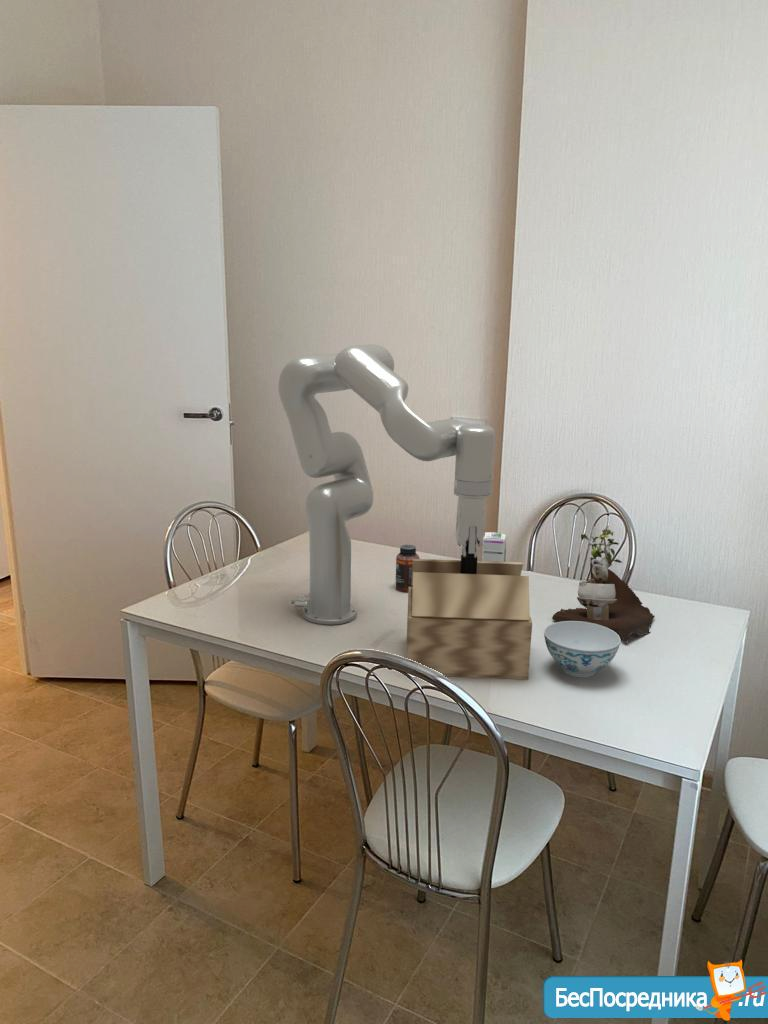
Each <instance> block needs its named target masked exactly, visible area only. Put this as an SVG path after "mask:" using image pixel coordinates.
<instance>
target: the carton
mask: <svg viewBox="0 0 768 1024" xmlns="http://www.w3.org/2000/svg"><path fill="white" fill-rule="evenodd" d="M412 592H413V587H409V590H408V592H407V594H408V597H407V623H406V624H407V625H406V659H407V658H408V659H411V660H413V661H416V662H418V663H421V664H422V665H425V666H427V667H429V668H432V669H434V670H436V671H438V672H440V673H442V674H443V675H445V676H444V677H457V678H459V677H461V678H462V677H463V678H483V679H484V678H485V679H486V678H487V679H515V680H529V673H530V671H529V670H530V659H531V657H530V655H531V646H532V644H531V643H532V633H533V631H532V630H533V621H532V618H531V617H530V620H502V619H473V618H445V617H416V616H412Z"/></svg>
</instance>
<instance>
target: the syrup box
mask: <svg viewBox="0 0 768 1024" xmlns="http://www.w3.org/2000/svg"><path fill="white" fill-rule="evenodd" d="M481 546H482V547H481V549H482V551H481V561H494V562H506V557H507V556H506V553H507V533H503V532H497V531H496V532H495V531H493V532H490V531H489V532H486V531H485V532H484V533H483V540H482V545H481Z"/></svg>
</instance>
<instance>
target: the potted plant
mask: <svg viewBox="0 0 768 1024" xmlns="http://www.w3.org/2000/svg"><path fill="white" fill-rule="evenodd" d="M601 531H602V534H600V535H599V536H595V537H594V536H591V539H592V540H591V539H590V538H589V537H588V535H586V533H583V534H582V533H580V538H581V541H584V539H586V540H587V541H588V542H589V544H587V545H588V546H591V552H590V555H591V556H592V557H590V558H589V559H590V560H589V561H590V562H589V566H590V567H589V568H590V569H589V571H590V579H589V578H588V580H587V581H579V584H578V588H577V596H576V599H577V601H578V602H579V604H580V605H581V606H583V607H584V608H582V607H576V608H568V609H563V608H561V609H560V610H558V611H555V613H554V614H553V615H552V618H551V619H552V620H553V621H557V622H562V621H582V622H589V623H594V624H598V625H601V626H604V627H607V628H609V629H611V630H613V631H614V632H616V633H617V634H619V636H620V638H621V639H622V640H623V642H625V643H629V639H630V638H629V637H630V636H631V634H633V633H635V634H637V635H638V636H639V635H640V636H644V635H646V634H650V633H649V630H650V626H651V625H652V624H653V623H654V622H653V620H654V619H655V615H654V614H653V613H652V612H651V611H650V608H649V607H647V606H643V603H642V601H641V600H640V598H639V597H638V596H637V595H636V593H635V592H634V590H633V589H632V588H631V587H630V586H629V585H628V584H627V583H626V581H624V580H622V579H621V578H620V577H619V576H618V574H616V572H613V571H612V570H611V569H609V568H610V567H611V566H613V565H612V564H613V563H612V562H614V563H615V562H616V563H620V564H622V563H623V561H622V560H620V559H618V558H616V556H615V554H616V552H615V550H614V549H613V548H610V547H611V546H612V545H617V546H618V545H620V543H619V542H615V539H614V538H609V535H611V537H612V536H613V535H614V533H615V532H614V531H613V530H611V529H609V528H607V529H606V528H605V527H604V528H602V529H601ZM606 538H607V540H606ZM597 539H600V540H603V542H601V541H600V542H598V543H596V540H597ZM606 541H607V542H606ZM601 546H604V548H602V547H601ZM602 554H604V557H602ZM611 554H612V555H611ZM612 556H613V557H612ZM597 557H598V558H601V560H599V559H596V558H597ZM586 608H587V609H586Z"/></svg>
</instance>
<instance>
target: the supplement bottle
mask: <svg viewBox="0 0 768 1024" xmlns="http://www.w3.org/2000/svg"><path fill="white" fill-rule="evenodd" d="M416 550H417V547H416V546H415V545H413V544H402V545H400V548H399V552H398V553H397V555H396V557H395V588H396V590H398V591H400V592H405V593H408V590H409V587H413V585H411V583H412V565H413V559H420V556H419V554H417V551H416Z"/></svg>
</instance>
